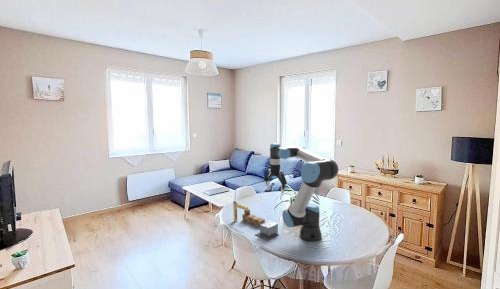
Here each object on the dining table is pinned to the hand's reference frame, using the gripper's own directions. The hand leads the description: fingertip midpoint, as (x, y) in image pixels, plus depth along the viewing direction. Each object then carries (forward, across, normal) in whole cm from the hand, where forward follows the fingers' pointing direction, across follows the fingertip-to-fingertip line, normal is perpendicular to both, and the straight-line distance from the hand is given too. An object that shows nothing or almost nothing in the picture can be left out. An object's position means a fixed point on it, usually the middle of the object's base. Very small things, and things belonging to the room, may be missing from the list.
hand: (275, 191), depth 202 cm
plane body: (+27, +16, +8) cm, 32 cm away
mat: (+27, -6, +17) cm, 32 cm away
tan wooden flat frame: (+27, +22, +15) cm, 38 cm away
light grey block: (+26, -6, +15) cm, 31 cm away
